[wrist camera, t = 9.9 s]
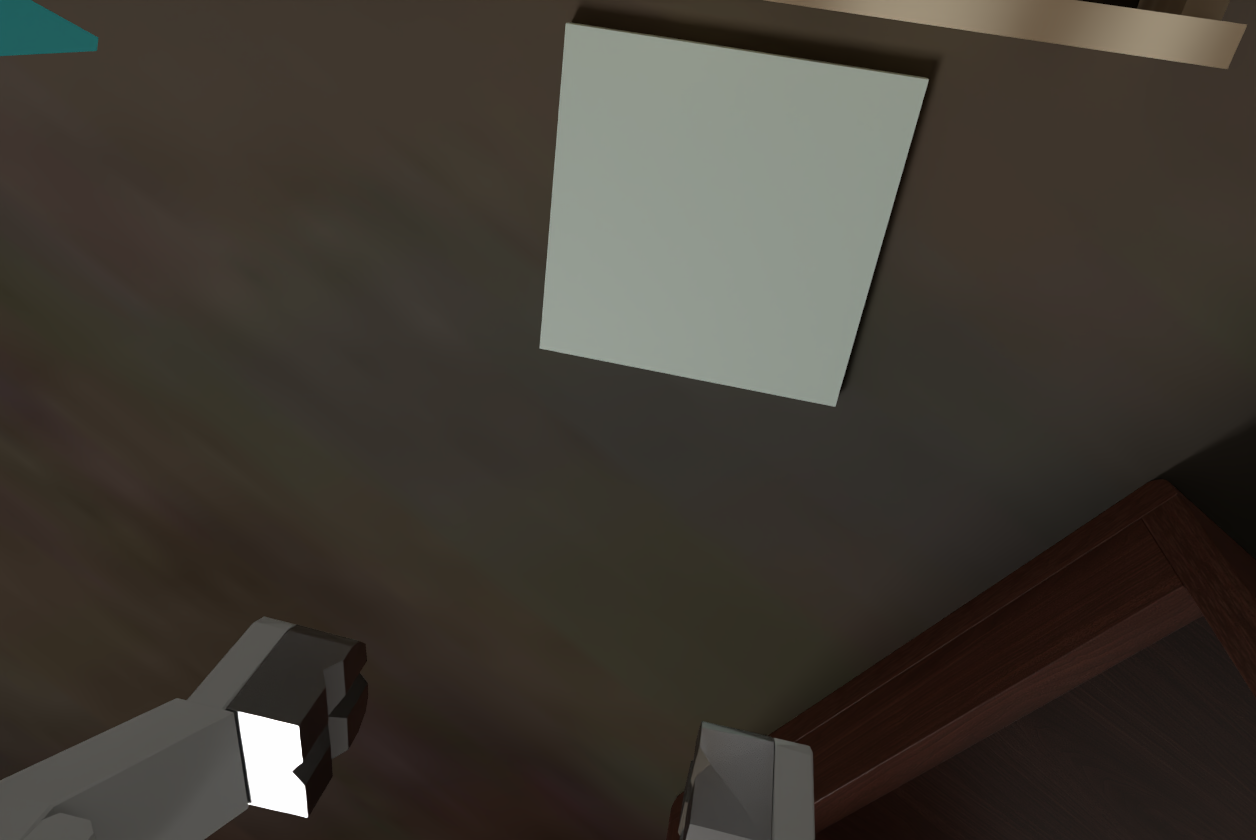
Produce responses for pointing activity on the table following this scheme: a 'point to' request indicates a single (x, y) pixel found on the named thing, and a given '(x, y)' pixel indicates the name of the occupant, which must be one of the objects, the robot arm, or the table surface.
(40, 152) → the table surface
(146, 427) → the table surface
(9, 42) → the place mat
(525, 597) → the table surface
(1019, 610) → the storage cube
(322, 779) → the robot arm
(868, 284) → the sage board
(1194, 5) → the frame
